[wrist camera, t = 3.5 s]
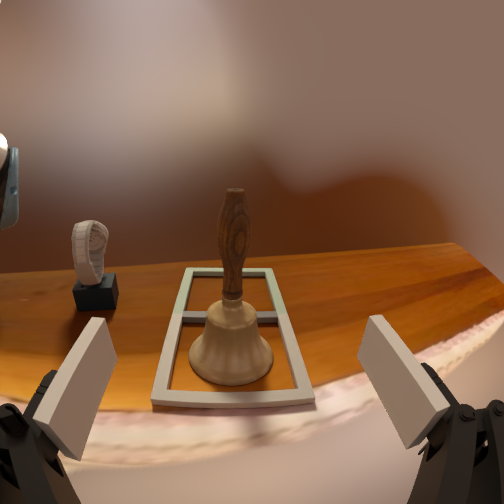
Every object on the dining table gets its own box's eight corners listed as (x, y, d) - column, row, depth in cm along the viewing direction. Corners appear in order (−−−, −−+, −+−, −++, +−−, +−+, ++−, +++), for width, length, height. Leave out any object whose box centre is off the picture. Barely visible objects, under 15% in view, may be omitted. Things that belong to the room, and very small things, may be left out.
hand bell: (283, 343, 28) (301, 188, 22) (253, 398, 21) (267, 204, 15) (214, 323, 31) (213, 180, 25) (172, 366, 24) (153, 193, 18)
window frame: (152, 404, 19) (150, 398, 19) (186, 272, 43) (186, 267, 42) (313, 402, 20) (315, 397, 20) (271, 272, 44) (271, 268, 44)
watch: (119, 286, 37) (109, 212, 33) (114, 316, 30) (99, 229, 26) (85, 288, 35) (72, 216, 31) (74, 319, 28) (54, 234, 24)
